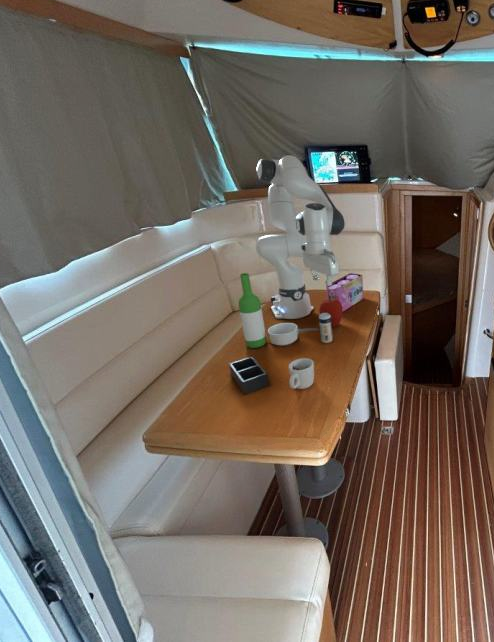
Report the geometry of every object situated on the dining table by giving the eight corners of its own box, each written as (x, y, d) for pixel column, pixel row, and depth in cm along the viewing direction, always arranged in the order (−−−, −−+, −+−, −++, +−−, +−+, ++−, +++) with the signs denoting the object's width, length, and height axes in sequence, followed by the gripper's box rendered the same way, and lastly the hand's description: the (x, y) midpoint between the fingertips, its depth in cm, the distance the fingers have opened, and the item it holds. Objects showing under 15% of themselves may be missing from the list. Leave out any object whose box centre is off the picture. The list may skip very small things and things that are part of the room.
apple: (337, 318, 171) (335, 291, 166) (348, 325, 164) (346, 297, 159) (316, 324, 164) (313, 296, 159) (327, 332, 157) (324, 303, 152)
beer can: (335, 340, 151) (333, 314, 147) (327, 344, 147) (324, 318, 143) (327, 337, 153) (324, 311, 149) (318, 341, 149) (315, 315, 145)
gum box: (339, 314, 176) (337, 288, 171) (325, 312, 178) (323, 286, 173) (364, 298, 196) (362, 274, 192) (351, 296, 199) (350, 272, 194)
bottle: (263, 348, 143) (251, 277, 133) (243, 349, 143) (229, 277, 132) (269, 339, 151) (258, 271, 140) (250, 340, 150) (237, 271, 139)
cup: (304, 398, 114) (301, 377, 111) (281, 395, 116) (278, 373, 113) (320, 379, 124) (318, 359, 121) (299, 376, 126) (296, 356, 123)
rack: (231, 375, 126) (228, 363, 124) (254, 367, 131) (252, 356, 129) (245, 394, 116) (242, 382, 114) (269, 385, 121) (267, 373, 119)
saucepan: (315, 347, 145) (314, 334, 143) (265, 347, 144) (263, 335, 142) (322, 334, 156) (321, 322, 154) (275, 334, 155) (273, 322, 153)
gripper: (341, 250, 132) (344, 286, 137) (313, 243, 145) (316, 275, 150) (326, 253, 128) (329, 290, 132) (298, 245, 141) (302, 278, 146)
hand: (322, 282), depth 141 cm, fingers open, 8 cm apart
